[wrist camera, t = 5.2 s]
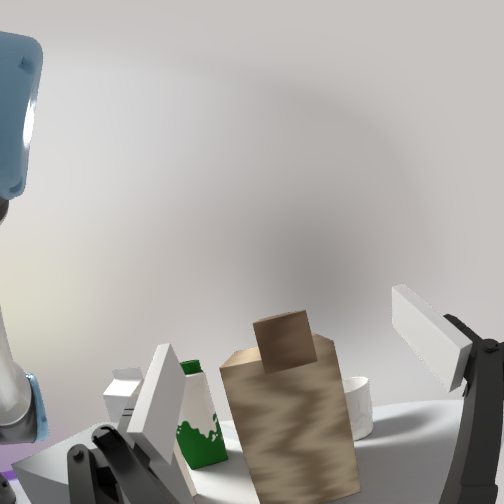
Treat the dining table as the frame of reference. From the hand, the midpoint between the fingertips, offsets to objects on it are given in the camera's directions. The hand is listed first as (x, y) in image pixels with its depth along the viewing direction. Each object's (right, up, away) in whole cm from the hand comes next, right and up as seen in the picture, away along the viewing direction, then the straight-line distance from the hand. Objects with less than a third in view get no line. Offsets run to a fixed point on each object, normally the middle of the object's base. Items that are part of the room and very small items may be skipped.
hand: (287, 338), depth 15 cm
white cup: (+16, -27, +25) cm, 40 cm away
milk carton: (-11, -34, +27) cm, 45 cm away
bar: (+2, -6, +14) cm, 15 cm away
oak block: (+6, -27, +14) cm, 31 cm away
